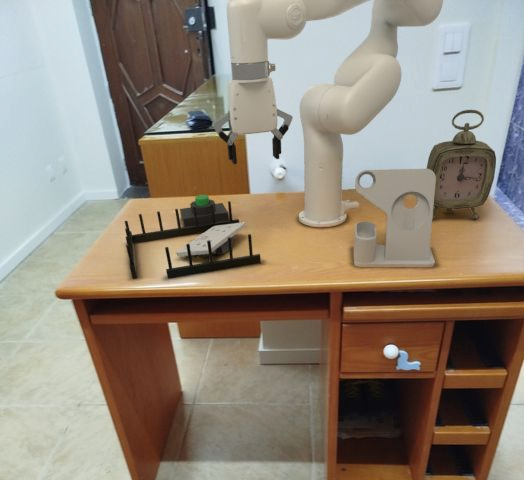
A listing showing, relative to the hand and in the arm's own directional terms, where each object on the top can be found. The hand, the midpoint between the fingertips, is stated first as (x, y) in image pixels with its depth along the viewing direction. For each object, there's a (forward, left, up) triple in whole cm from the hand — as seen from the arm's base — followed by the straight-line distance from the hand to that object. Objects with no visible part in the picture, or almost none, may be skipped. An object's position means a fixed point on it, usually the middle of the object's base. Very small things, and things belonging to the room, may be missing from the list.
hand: (255, 160), depth 107 cm
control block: (+11, -19, -19) cm, 29 cm away
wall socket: (+12, 0, -19) cm, 23 cm away
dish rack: (+17, 0, -19) cm, 26 cm away
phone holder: (-25, +20, -19) cm, 37 cm away
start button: (+11, -19, -14) cm, 26 cm away
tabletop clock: (-50, +3, -19) cm, 54 cm away
